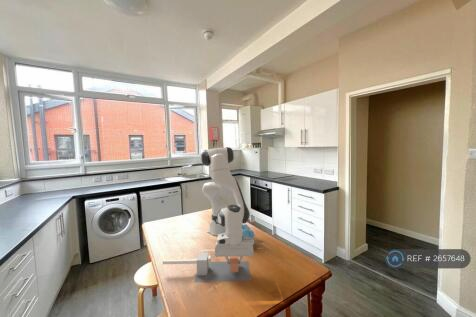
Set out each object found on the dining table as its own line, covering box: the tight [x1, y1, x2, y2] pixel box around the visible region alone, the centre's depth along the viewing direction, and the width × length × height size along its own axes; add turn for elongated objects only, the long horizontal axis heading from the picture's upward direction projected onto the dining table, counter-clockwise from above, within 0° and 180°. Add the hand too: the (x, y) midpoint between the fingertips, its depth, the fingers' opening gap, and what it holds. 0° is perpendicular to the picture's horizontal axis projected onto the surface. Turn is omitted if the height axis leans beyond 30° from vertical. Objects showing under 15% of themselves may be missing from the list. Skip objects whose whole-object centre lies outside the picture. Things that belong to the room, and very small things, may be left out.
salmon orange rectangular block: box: [229, 256, 239, 272], centre depth 99 cm, size 10×4×4 cm, turn 2°
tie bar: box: [162, 254, 212, 265], centre depth 98 cm, size 3×24×3 cm, turn 91°
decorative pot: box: [242, 223, 256, 244], centre depth 128 cm, size 16×16×14 cm
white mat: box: [199, 249, 215, 253], centre depth 114 cm, size 13×14×1 cm
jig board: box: [193, 252, 251, 283], centre depth 99 cm, size 16×27×9 cm, turn 91°
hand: (234, 263), depth 99 cm, fingers closed on salmon orange rectangular block, 4 cm apart
